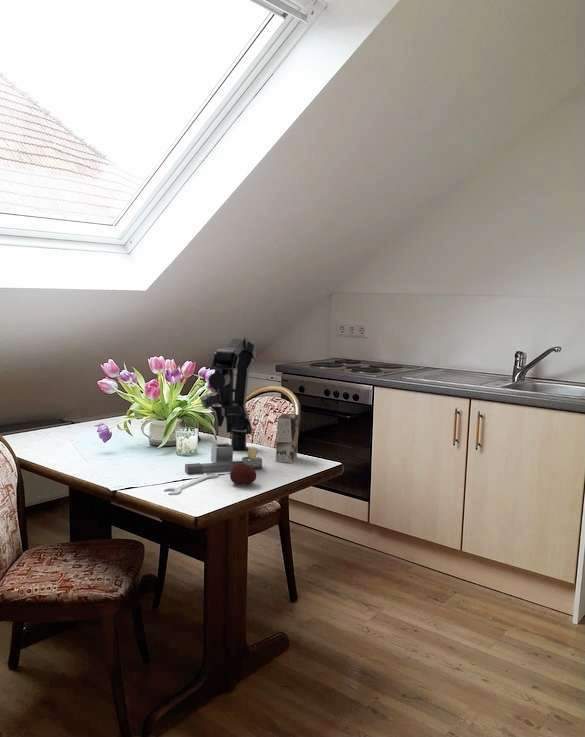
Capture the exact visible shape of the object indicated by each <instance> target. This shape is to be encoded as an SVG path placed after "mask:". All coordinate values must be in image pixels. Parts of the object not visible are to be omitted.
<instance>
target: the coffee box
mask: <svg viewBox="0 0 585 737" xmlns="http://www.w3.org/2000/svg"><path fill="white" fill-rule="evenodd" d="M299 419H300V414H296V413H294V414H293V413H282V414H280V416H278V417H277V427H276V444H275V445H276V446H275V447H276V448H275V449H276V450H275V462H280V463H286V464H287V463H289V464H293V462H294V461H295V460H296V459H297V457H298V443H299V442H298V440H299V422H300V420H299Z"/></svg>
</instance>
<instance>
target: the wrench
mask: <svg viewBox="0 0 585 737" xmlns="http://www.w3.org/2000/svg"><path fill="white" fill-rule="evenodd" d="M202 474H203V475H202V476H201V477H198V478H195V479H193V480H191V481H189V482H187V483H185V484H182V485H179V486H177V487H169V488H165V489H163V491H164V492H169V493H167V494H168V496H177V495H180V494H182V491H183V490H185V489H187V488H189V487H192V486H194V485H196V484H198V483H200V482H203V481H205V480H209V479H216V478H218V477H219V474H217V473H215V472H207V473H202ZM170 491H171V492H170Z"/></svg>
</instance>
